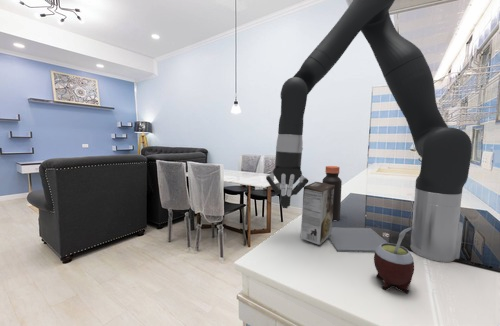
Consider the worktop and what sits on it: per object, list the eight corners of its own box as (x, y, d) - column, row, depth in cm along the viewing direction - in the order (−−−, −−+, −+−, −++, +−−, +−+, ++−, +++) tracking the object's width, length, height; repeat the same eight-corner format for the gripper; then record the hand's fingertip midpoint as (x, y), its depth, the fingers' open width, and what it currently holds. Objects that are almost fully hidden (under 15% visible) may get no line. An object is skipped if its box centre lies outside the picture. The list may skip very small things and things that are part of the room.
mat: (370, 229, 74) (370, 228, 74) (397, 253, 59) (398, 251, 59) (322, 228, 75) (322, 227, 74) (337, 251, 60) (337, 249, 60)
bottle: (343, 219, 83) (346, 167, 81) (331, 222, 80) (334, 168, 78) (329, 213, 89) (331, 165, 87) (317, 217, 86) (319, 166, 84)
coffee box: (312, 228, 73) (315, 181, 71) (331, 234, 69) (335, 184, 66) (299, 238, 66) (302, 186, 64) (320, 245, 62) (324, 190, 60)
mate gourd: (383, 270, 51) (387, 208, 49) (423, 290, 44) (430, 219, 43) (364, 281, 47) (368, 214, 46) (405, 305, 41) (412, 227, 39)
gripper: (309, 151, 68) (304, 205, 70) (266, 148, 68) (262, 202, 70) (314, 152, 60) (309, 213, 62) (266, 149, 61) (262, 210, 63)
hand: (284, 207), depth 66 cm, fingers closed
